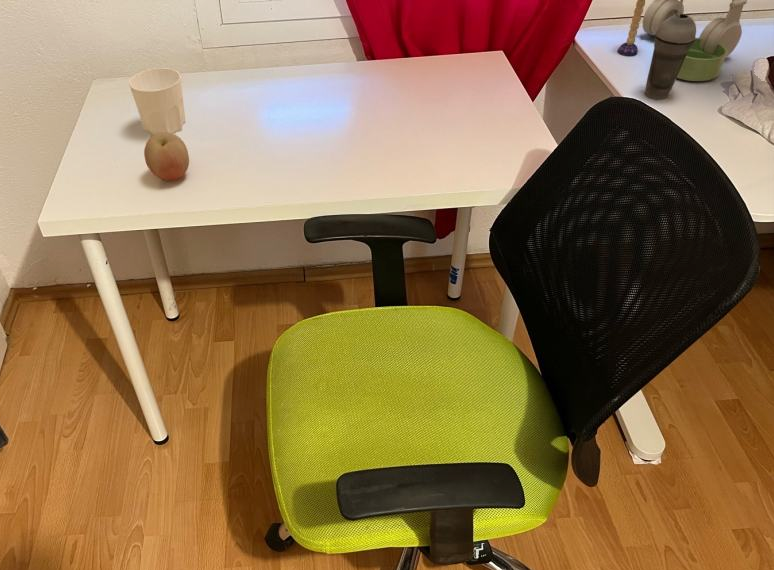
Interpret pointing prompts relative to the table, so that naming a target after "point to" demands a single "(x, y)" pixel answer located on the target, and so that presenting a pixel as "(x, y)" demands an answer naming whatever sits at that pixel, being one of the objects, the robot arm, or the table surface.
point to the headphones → (713, 33)
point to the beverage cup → (669, 53)
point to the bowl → (702, 63)
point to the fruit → (166, 156)
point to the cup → (159, 99)
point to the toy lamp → (632, 32)
